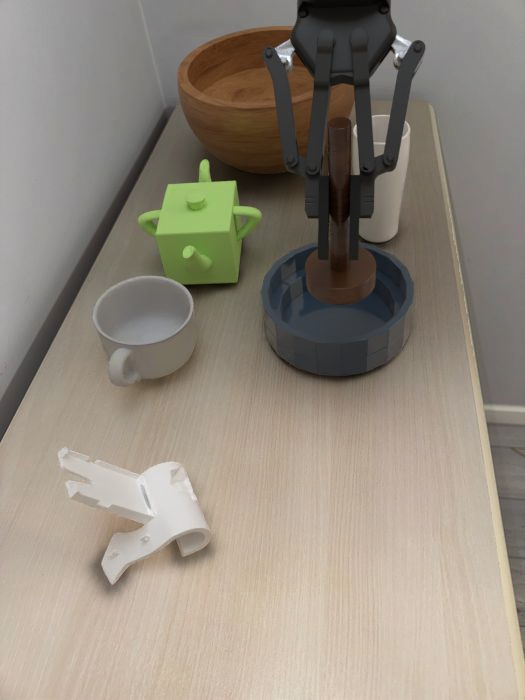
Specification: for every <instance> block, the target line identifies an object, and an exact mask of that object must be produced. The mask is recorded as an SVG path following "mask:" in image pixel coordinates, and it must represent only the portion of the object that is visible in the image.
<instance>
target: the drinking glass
mask: <svg viewBox="0 0 525 700" xmlns="http://www.w3.org/2000/svg"><path fill="white" fill-rule="evenodd" d="M389 119H390V114H375V115H372V128H373V143H374V157H377V156H379V155H382V154H384V148H385V142H386V136H387V131H388V125H389ZM410 151H411V126H410V124H409V123H408V121H406V120H405V123H404V128H403V134H402V140H401V145H400V151H399V157H398V161H397V166H396V168H395V169H394V170H393V171H391V172H386V173H383V174H381V175H379V176H378V177H377V178H376V179H375V186H374V212H373V215H372V217H371V218H359V237H361V238H362V239H363V240H365V241H367V242H370V243H376V244H377V243H379V244H380V243H385V242H388V241H390V240H391V239H393V238H395V237H396V235H397V234H398V232H399V225H400V224H399V221H400V215H401V210H402V202H403V196H404V191H405V185H406V180H407V179H406V178H407V173H408V167H409V161H410ZM351 165H352V175H360V170H359V155H358V141H357V126H356V124H355V125H354V126H353V127H352V138H351Z"/></svg>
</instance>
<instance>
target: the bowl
mask: <svg viewBox="0 0 525 700" xmlns="http://www.w3.org/2000/svg"><path fill="white" fill-rule="evenodd" d="M293 27H294V25H272V26H271V25H270V26H269V25H268V26H259V27H253V28H248V29H241V30H238V31H235V32H231V33H227V34H224V35H221V36H219V37H216V38H213V39H211V40H209V41H207V42H204V43H203V44H201V45H199V46H198V47H196V48H195V49H193V50H192V51H191V52H190V53H188V54H187V55H186V56H185V57H184V58H183V60H182V61H181V63H180V64H179V66H178V68H177V73H176V79H177V81H176V82H177V83H176V84H177V93H178V99H179V102H180V106H181V110H182V112H183V115H184V118H185V120H186V122H187V124H188V126H189V128H190V130H191V131H192V133H193V134H194V136H195V137H196V138H197V139H198V141H199V143H201V144H202V146H203V147H204V148H205V149H206V150H207V151H208V152H209V153H210V154H212V155H213V156H214V157H215V158H217V159H218V160H220V161H222V162H223V163H225V164H227V165H229V166H231V167H233V168H235V169H238V170H240V171H244V172H248V173H253V174H259V175H260V174H261V175H273V174H282V173H287V172H289V171H288V170H287V168H286V166H285V164H284V162H283V155H282V148H281V140H280V133H279V125H278V117H277V110H276V102H275V95H274V87H273V80H272V78H271V76H270V74H269V72H268V70H267V68H266V66H265V63H264V60H263V58H262V51H263V49H264V48H265V47H267V46H272V47H274V48H276V47H277V46H279V45H281V44H283V43H284V42H286V41H288V40H289V39H290V34H291V31H292V29H293ZM292 64H293V69H292V71H291V72H290V73H289V74H287V77H288V80H289V84H290V89H291V96H292V104H293V112H294V119H295V127H296V135H297V142H298V150H299V156H301V157H304V158H306V155H307V146H308V137H309V127H310V118H311V109H312V99H313V90H314V78H313V77H312V76H311V74H310V73H309V71H308V70H307V69H306V67H305V66H304V64H303V63H302V62H301V60H300V59H299V57H298V56H297V55H294V57H293V59H292ZM354 106H355V98H354V85H348V84H344V83H342V84H338V85H335V86H332V89H331V97H330V103H329V112H328V121H329V120H330V119H332V118H335V117H345V118H348V119H350V117H351V114H352V110H353V107H354ZM328 121H327V123H328ZM326 151H328V128H327V131H326V140H325V149H324V153H325V152H326Z"/></svg>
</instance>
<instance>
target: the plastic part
mask: <svg viewBox="0 0 525 700" xmlns="http://www.w3.org/2000/svg"><path fill="white" fill-rule="evenodd" d="M57 458H58V462H59V465H60V469H62V471H64V472H65V473H68V474H70V475H72V476H75V477H77V478H80V479H82V480H84V481H86V482H88V483H86V482H85V483H84V482H80V481H76V480H71V479H70V480H67V481H65V483H64V485H65V488H66V490H67V494H68V498H69V499H71V500H73V501H77V502H78V503H81V504H84V505H86V506H88V507H92V508H95V509H97V510H101V511H103V512H107V513H110V514H113V515H115V516H119V517H121V518H125V519H127V520H131V521H134V522H136V523H140V524H143V526H141V527H139V528H138V529H135V530H133V531H130V532H123V531H122V532H121V531H118V532H115V533H114V534H113V535H112V537H111V539H110V540H109V543H108V545H107V548H106V549H105V552H104V554H103V557H102V560H101V563H100V565H101V568H102V570H103V573H104V575H105V576H106V578H107V580H108V581H109V584H110V585H111V586H114V585H115V584H116V583H117V582H118V581H119V579H120V578H121V577H122V575H123V574H124V573H125V571H126V570H128V568H129V567H130V566H131V565H134V564H137V563H138V562H141V561H143V560H146V559H148V558H150V557H153V556H154V555H156V554H158V553H159V552H161V551H162V550H163V549H164V548H166V547H168V545H169V544H170V543H172V542H174V541H176V544H177V546H178V549H179V552H180V555H181V557H182V558H183V557H187V556H190V555H192V554H194V553H196V552H199V551H201V550H203V549H204V548H205V547H206V546H207V545H208V544H210V541H211V539H212V531H211V530H210V527H209V524H208V522H207V520H206V517H205V515H204V512H203V510H202V507H201V504H200V502H199V500H198V498H197V496H196V493H195V492H194V489H193V486H192V484H191V481H190V478H189V475H188V473H187V470H186V468H185V466H184V465H183V464H182V463H181V462H177V461H165V462H161V463H157V464H155V465H153V466H150V467H149V468H147V469H146V470H144V471H142V473H140V474H139V473H136V472H133V471H131V470H129V469H125V468H123V467H120V466H117V465H114V464H111V463H108V462H106V461H103V460H100V459H96V460H95V461H94V462H92V461H89V460H90V459H91V456H89V455H86V454H83V453H80V452H77V451H74V450H71V449H69V448H68V446H63V447H62V448H60V450H59V451H58V452H57Z"/></svg>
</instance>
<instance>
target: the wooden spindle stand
mask: <svg viewBox="0 0 525 700" xmlns="http://www.w3.org/2000/svg"><path fill="white" fill-rule="evenodd" d="M327 128H328V149H327V168H328V169H327V170H328V174H327V175H329V241H330V244H329V260H319V258H318V249H317V250H315V251H314V252H313V253H312V254H310V256H309V257H308V259H307V261H306V263H305V275H306V286H307V289H308V291H309V292H310V294H311V295H312V296H313V297H314V298H316V299H317V300H319V301H321V302H324V303H327V304H331V305H348V304H353V303H356V302H359V301H361V300H363V299H364V298H366V297H367V296H368V295H369V294H370V293H371V292H372V291H373V289H374V287H375V281H376V261H375V259H374V257H373V256H372V254H371V253H370V252H369V251H367V250H366V249H364V248H362V247H360V246H359V255H358V260H349V228H350V181H351V175H352V120H351V119H350V118H349V119H348V118H345V117H335V118H332V119H330V120H329V121H328V123H327Z"/></svg>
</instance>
